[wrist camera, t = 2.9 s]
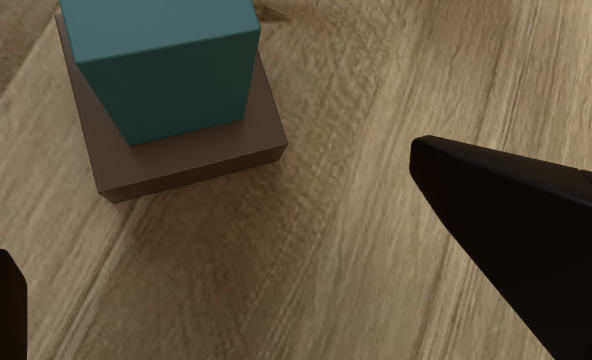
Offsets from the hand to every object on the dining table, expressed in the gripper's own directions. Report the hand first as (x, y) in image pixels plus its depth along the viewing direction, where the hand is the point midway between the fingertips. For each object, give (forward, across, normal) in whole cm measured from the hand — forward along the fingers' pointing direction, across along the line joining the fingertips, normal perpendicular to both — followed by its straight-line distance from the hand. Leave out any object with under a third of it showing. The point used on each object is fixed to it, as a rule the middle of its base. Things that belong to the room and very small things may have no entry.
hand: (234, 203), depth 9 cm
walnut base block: (+15, 0, +4) cm, 16 cm away
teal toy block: (+13, 0, +2) cm, 13 cm away
